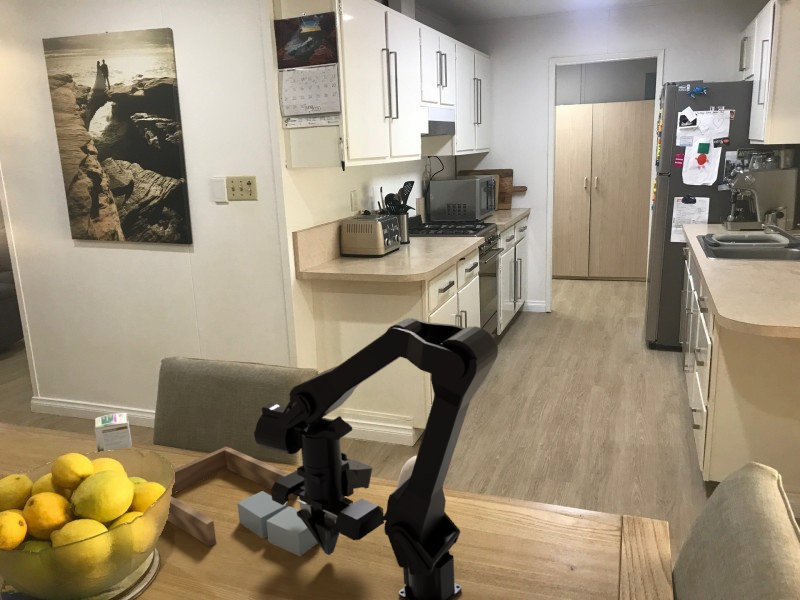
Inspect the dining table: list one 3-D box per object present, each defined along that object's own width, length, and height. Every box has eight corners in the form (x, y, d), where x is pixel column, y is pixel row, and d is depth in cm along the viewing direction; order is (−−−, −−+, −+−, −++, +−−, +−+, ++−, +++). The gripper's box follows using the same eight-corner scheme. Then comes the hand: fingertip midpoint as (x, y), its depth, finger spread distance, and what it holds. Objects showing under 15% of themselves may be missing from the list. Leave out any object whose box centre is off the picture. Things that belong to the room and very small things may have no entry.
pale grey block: (288, 526, 109) (286, 504, 108) (263, 540, 105) (260, 517, 104) (264, 511, 114) (262, 490, 113) (239, 524, 110) (237, 502, 109)
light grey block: (322, 541, 104) (320, 518, 103) (300, 557, 100) (297, 534, 99) (291, 527, 108) (288, 506, 107) (268, 543, 104) (266, 520, 103)
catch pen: (297, 496, 117) (295, 476, 116) (209, 546, 104) (206, 524, 103) (228, 464, 131) (226, 446, 130) (142, 504, 117) (139, 484, 116)
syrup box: (104, 488, 124) (92, 417, 121) (137, 480, 126) (126, 410, 123) (105, 502, 119) (92, 428, 115) (139, 493, 121) (128, 421, 118)
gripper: (406, 455, 95) (410, 549, 99) (318, 424, 107) (325, 509, 111) (352, 487, 87) (359, 588, 91) (264, 450, 99) (274, 540, 103)
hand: (329, 552), depth 99 cm, fingers closed
